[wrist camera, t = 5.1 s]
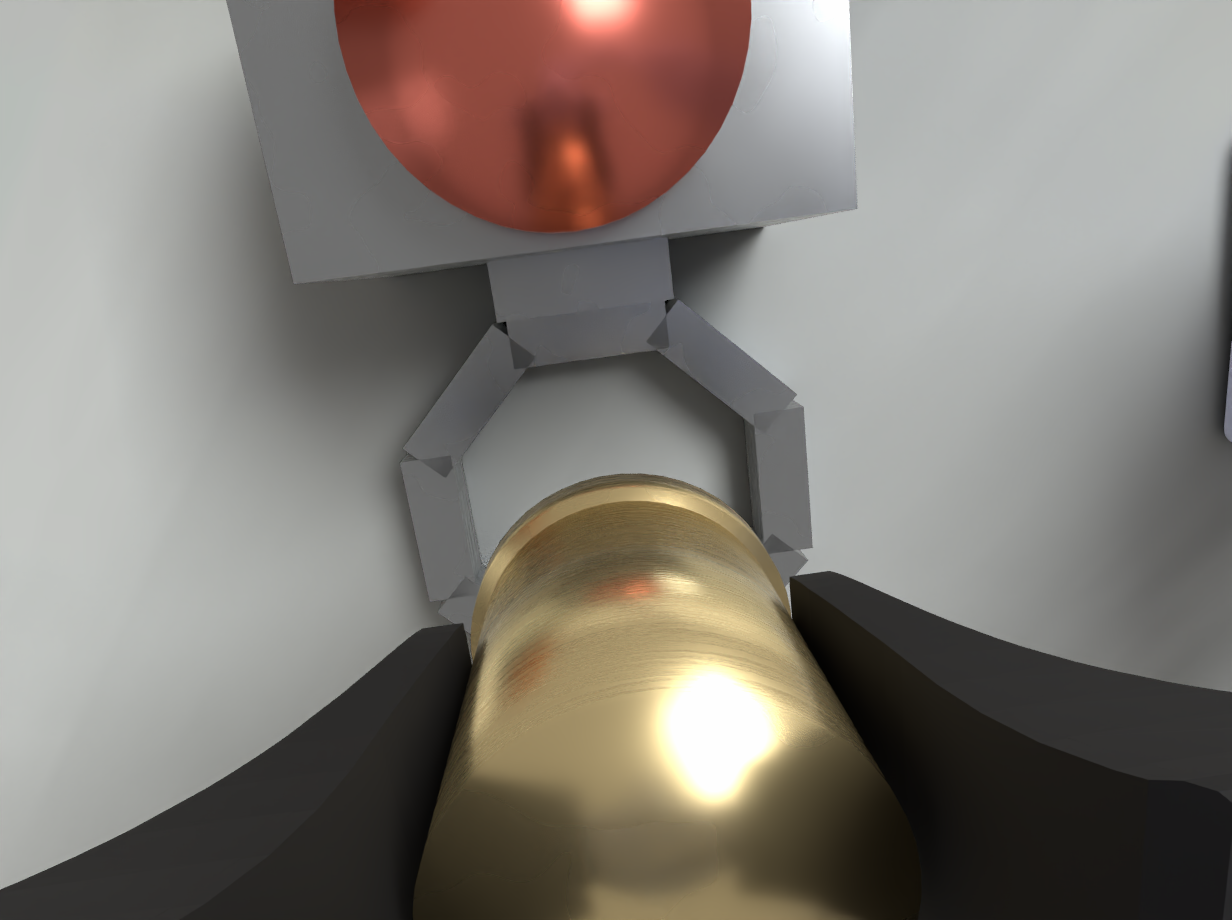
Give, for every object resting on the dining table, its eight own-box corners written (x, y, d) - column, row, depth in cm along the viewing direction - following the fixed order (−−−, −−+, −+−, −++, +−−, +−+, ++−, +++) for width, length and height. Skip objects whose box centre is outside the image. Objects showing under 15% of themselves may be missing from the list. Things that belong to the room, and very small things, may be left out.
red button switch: (746, -231, 15) (881, -623, 8) (805, 632, 20) (918, 815, 14) (280, -173, 15) (41, -525, 8) (459, 682, 20) (400, 891, 14)
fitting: (778, 462, 12) (959, 650, 6) (779, 735, 14) (927, 1093, 8) (460, 485, 12) (349, 698, 6) (494, 759, 13) (428, 1142, 8)
